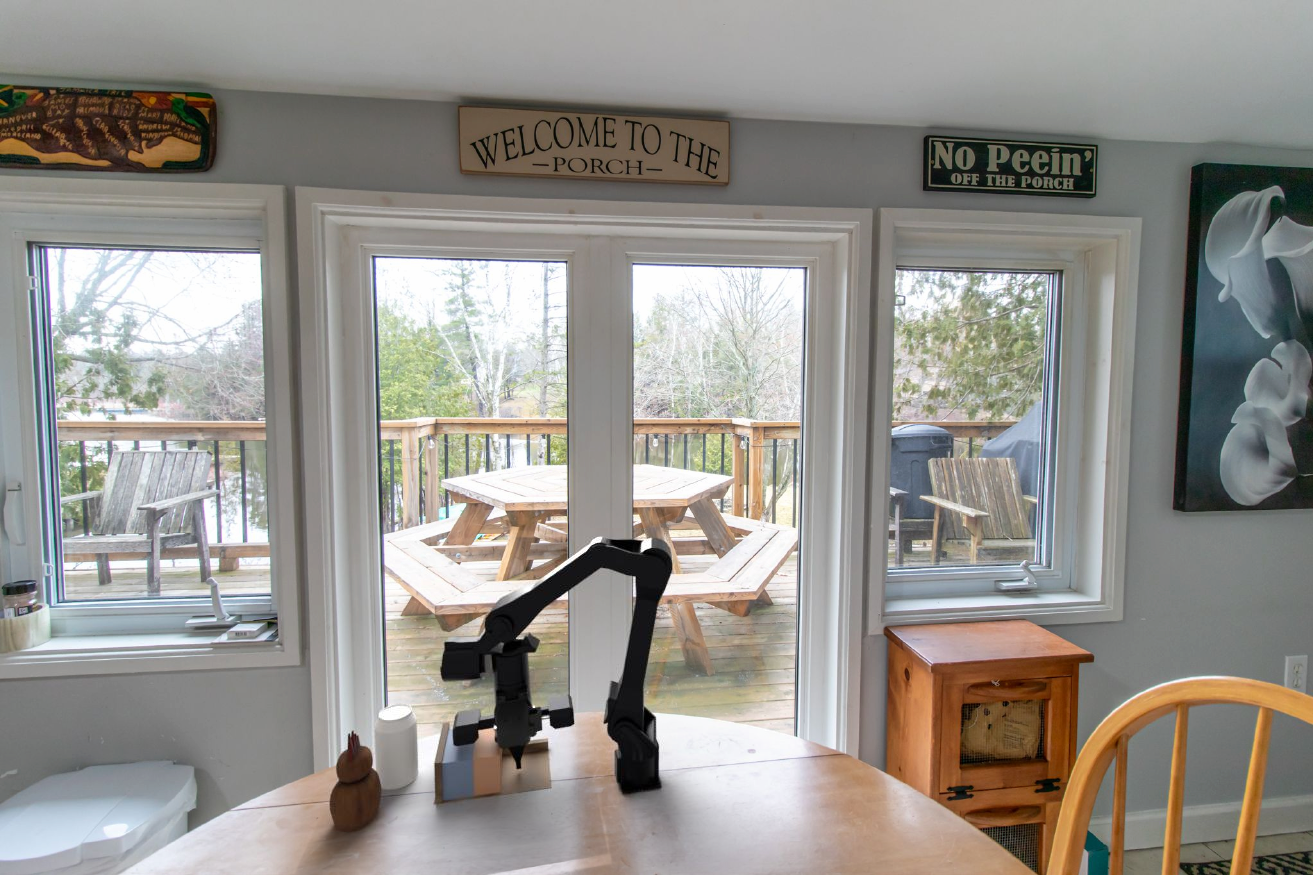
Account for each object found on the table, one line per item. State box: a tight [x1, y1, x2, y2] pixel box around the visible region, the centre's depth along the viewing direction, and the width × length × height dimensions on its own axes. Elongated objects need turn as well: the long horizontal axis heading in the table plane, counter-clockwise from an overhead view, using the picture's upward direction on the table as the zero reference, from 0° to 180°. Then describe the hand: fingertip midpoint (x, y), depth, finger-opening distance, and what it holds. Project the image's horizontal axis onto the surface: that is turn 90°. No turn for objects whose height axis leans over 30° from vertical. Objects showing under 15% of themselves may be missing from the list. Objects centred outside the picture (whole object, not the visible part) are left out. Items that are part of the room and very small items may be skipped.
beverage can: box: [373, 703, 419, 791], centre depth 96 cm, size 6×6×12 cm
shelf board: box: [433, 721, 552, 806], centre depth 98 cm, size 18×11×8 cm, turn 103°
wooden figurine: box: [329, 730, 382, 833], centre depth 87 cm, size 7×6×15 cm
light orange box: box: [473, 728, 502, 796], centre depth 97 cm, size 4×9×6 cm, turn 13°
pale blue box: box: [442, 728, 475, 801], centre depth 96 cm, size 4×9×6 cm, turn 13°
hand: (518, 767), depth 98 cm, fingers closed
